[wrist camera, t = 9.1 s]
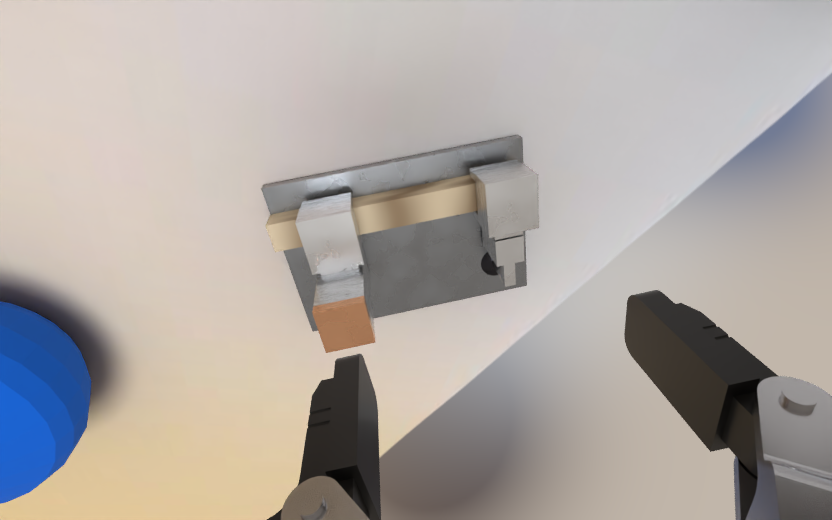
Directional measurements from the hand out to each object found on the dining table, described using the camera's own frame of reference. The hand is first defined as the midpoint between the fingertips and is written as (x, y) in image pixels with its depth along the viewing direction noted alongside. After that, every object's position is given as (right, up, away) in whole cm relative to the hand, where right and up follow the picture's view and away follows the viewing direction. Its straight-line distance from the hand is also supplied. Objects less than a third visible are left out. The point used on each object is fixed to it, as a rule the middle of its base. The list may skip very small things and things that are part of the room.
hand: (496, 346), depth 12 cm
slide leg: (-9, +4, +24) cm, 26 cm away
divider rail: (-4, +8, +23) cm, 25 cm away
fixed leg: (+5, +6, +25) cm, 26 cm away
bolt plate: (-3, +5, +26) cm, 27 cm away
